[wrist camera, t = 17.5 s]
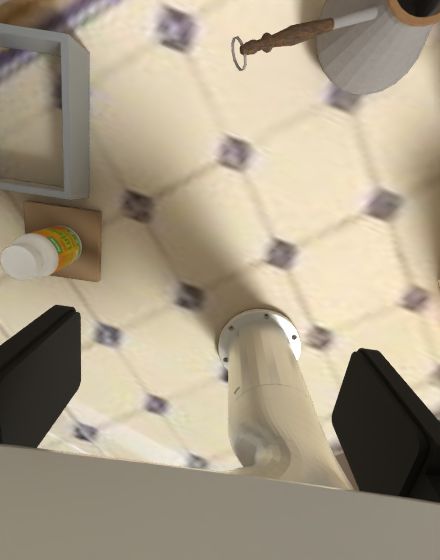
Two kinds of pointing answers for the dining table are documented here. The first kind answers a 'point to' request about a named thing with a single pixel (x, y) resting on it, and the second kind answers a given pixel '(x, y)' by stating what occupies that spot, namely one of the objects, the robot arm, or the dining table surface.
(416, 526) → the robot arm
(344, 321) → the dining table surface
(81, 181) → the bin
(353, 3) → the coffee pot
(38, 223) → the walnut board
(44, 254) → the supplement bottle
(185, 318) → the dining table surface
